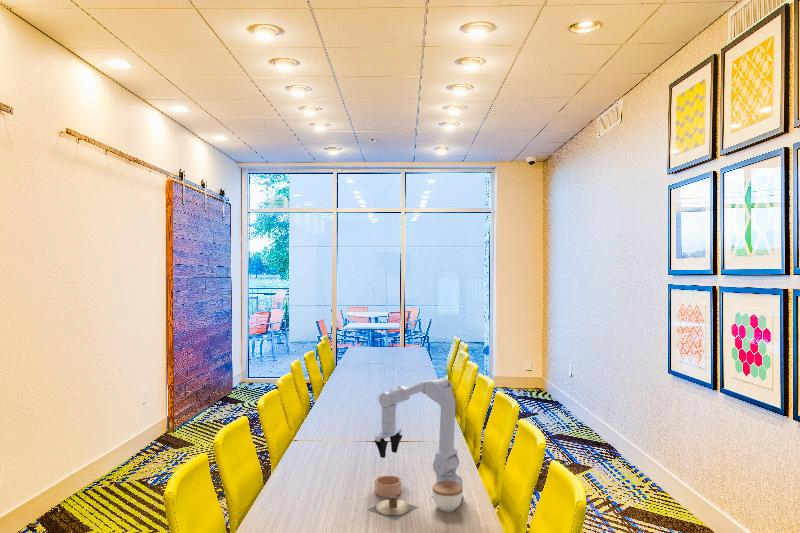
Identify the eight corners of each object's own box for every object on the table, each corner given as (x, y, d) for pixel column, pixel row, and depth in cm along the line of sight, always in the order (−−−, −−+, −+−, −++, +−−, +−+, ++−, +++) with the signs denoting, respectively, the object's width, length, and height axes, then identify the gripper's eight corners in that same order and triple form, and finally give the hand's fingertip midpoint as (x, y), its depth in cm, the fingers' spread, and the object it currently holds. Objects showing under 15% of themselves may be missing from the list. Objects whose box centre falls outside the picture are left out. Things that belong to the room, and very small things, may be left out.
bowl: (406, 491, 216) (406, 479, 216) (390, 499, 208) (390, 487, 208) (386, 484, 222) (386, 473, 222) (369, 492, 214) (370, 481, 214)
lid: (407, 500, 206) (407, 489, 206) (411, 514, 194) (412, 502, 194) (374, 502, 204) (374, 490, 204) (377, 516, 193) (377, 504, 193)
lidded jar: (460, 501, 206) (460, 476, 205) (464, 514, 195) (464, 488, 195) (431, 501, 205) (431, 476, 205) (434, 515, 195) (434, 488, 194)
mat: (418, 507, 200) (418, 507, 200) (395, 520, 190) (395, 519, 190) (390, 498, 208) (390, 497, 208) (367, 510, 198) (367, 509, 198)
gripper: (391, 416, 236) (391, 448, 236) (369, 423, 224) (369, 457, 224) (405, 418, 231) (405, 451, 231) (383, 426, 220) (382, 461, 220)
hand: (388, 454), depth 227 cm, fingers open, 7 cm apart
